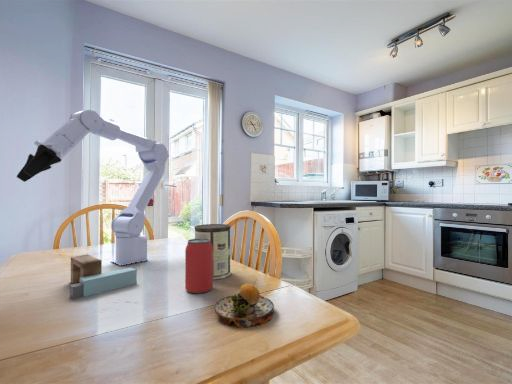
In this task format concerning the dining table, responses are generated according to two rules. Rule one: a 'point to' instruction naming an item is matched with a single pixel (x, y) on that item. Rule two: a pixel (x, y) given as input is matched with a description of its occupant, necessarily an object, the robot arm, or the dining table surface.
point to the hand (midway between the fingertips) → (24, 176)
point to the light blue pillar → (103, 282)
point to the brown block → (84, 267)
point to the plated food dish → (245, 307)
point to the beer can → (199, 266)
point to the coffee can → (217, 246)
